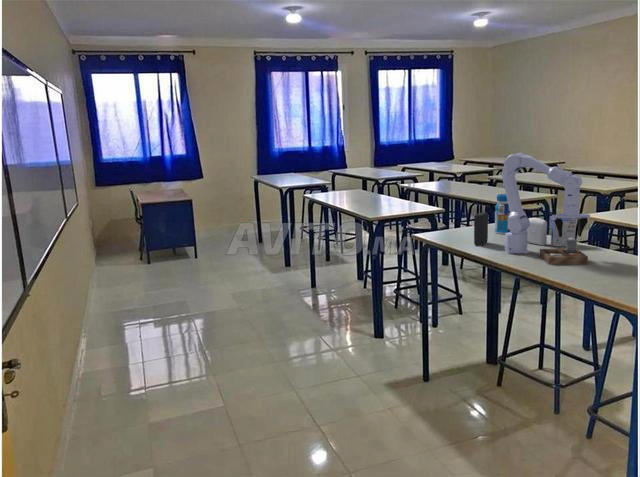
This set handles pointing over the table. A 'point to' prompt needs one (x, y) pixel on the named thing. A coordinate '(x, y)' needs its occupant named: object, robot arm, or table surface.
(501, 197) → the beverage bottle
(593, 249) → the table surface
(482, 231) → the black upright block
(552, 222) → the ink cartridge box
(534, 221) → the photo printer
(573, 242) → the plug
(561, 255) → the socket board
